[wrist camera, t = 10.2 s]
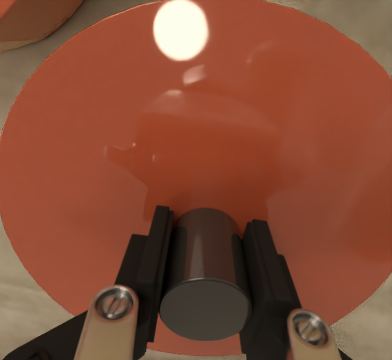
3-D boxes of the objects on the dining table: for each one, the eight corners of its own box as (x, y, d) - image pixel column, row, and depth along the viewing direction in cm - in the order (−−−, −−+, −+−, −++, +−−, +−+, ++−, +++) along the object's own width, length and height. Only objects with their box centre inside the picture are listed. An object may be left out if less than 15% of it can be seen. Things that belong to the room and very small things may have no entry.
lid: (506, 48, 10) (749, 64, 5) (320, 354, 18) (357, 458, 14) (-29, -50, 9) (-254, -126, 4) (34, 318, 17) (-24, 417, 13)
